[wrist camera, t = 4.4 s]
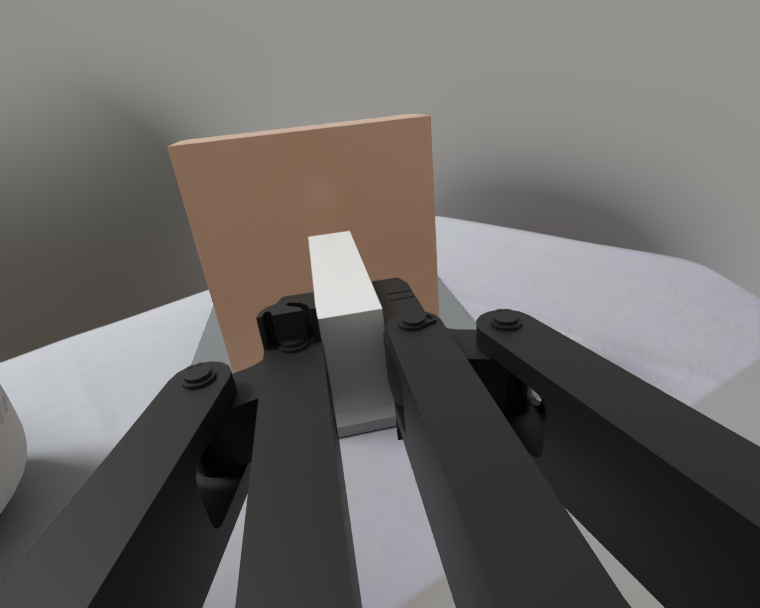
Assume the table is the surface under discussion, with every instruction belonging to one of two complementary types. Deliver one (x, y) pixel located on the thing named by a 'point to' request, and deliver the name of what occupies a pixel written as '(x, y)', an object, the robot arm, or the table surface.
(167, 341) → the table surface
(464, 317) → the mat
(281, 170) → the tile
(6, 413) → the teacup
